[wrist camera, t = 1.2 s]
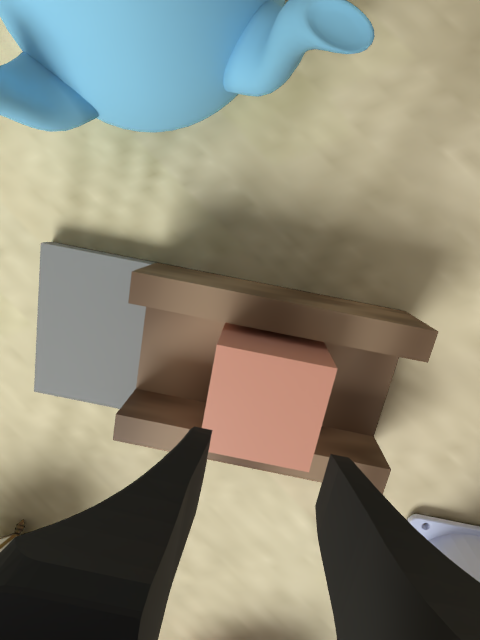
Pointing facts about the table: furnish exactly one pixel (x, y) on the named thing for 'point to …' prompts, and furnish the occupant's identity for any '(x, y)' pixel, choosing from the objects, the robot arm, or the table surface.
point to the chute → (276, 316)
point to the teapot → (160, 56)
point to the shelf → (87, 325)
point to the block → (268, 396)
